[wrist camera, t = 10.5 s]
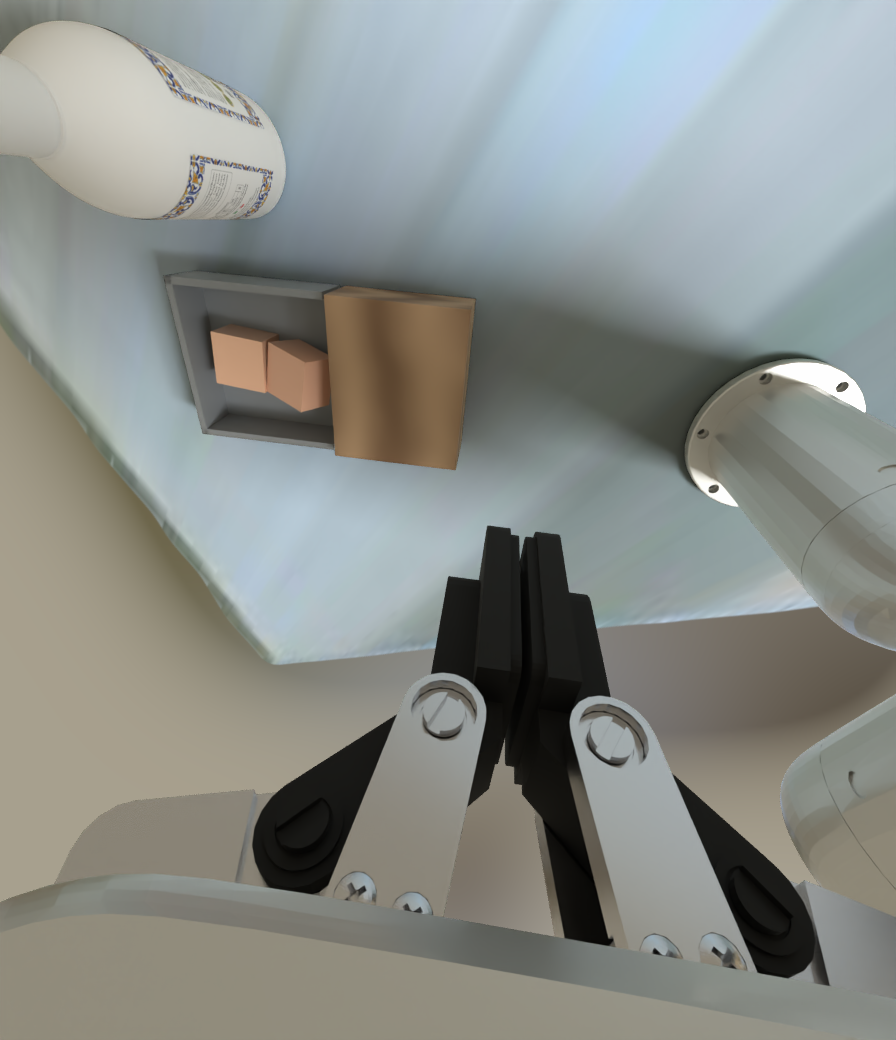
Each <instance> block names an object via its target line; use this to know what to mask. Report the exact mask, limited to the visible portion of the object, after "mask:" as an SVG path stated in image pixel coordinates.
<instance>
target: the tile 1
mask: <svg viewBox="0 0 896 1040" xmlns="http://www.w3.org/2000/svg"><path fill="white" fill-rule="evenodd" d="M267 392H269V393H271V394H272V395H274V396H276V397H277V398H279V399H280V400H282V401H284V402H285V403H287V404H289V405H290V406H292V407H293V408H295V409H297V410H298V411H300V412H304V411H308V410H312V409H315V408H319V407H323V406H327V405H329V401H330V393H331V388H330V374H329V360H328V354H326V353H324V352H322V351H320V350H318V349H317V348H315V347H313V346H311V345H309V344H307V343H306V342H304V341H302V340H300V339H294V340H283V341H273V342H268V366H267Z"/></svg>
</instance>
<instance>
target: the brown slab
mask: <svg viewBox="0 0 896 1040" xmlns="http://www.w3.org/2000/svg"><path fill="white" fill-rule="evenodd" d="M475 301H476V299H472V298H463V297H453V296H443V295H433V294H423V293H413V292H403V291H394V290H384V289H374V288H364V287H354V286H344V287H342V288H339V289H337V290H334V291H332V292H329V293H327V294H324V305H325V319H326V333H327V346H328V360H329V374H330V388H331V402H332V415H333V429H334V443H335V455H336V456H344V457H352V458H360V459H368V460H376V461H385V462H393V463H401V464H409V465H417V466H425V467H434V468H442V469H450V470H456V466H457V461H458V457H459V452H460V448H461V441H462V431H463V421H464V411H465V401H466V391H467V381H468V371H469V361H470V351H471V341H472V331H473V321H474V311H475Z"/></svg>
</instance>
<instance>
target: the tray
mask: <svg viewBox="0 0 896 1040" xmlns="http://www.w3.org/2000/svg"><path fill="white" fill-rule="evenodd" d="M163 277H164V281H165V285H166V289H167V293H168V297H169V301H170V305H171V309H172V313H173V317H174V321H175V325H176V329H177V333H178V337H179V341H180V345H181V349H182V353H183V357H184V361H185V365H186V369H187V373H188V377H189V381H190V385H191V389H192V393H193V397H194V401H195V405H196V409H197V413H198V417H199V421H200V425H201V429H202V433H203V434H209V435H217V436H226V437H234V438H242V439H250V440H258V441H267V442H275V443H283V444H291V445H300V446H308V447H316V448H324V449H332V450H334V448H335V443H334V429H333V415H332V402H331V393H330V401H329V405H327V406H323V407H319V408H315V409H312V410H308V411H304V412H300V411H298V410H297V409H295V408H293V407H292V406H290V405H289V404H287V403H285V402H284V401H282V400H280V399H279V398H277V397H276V396H274V395H272V394H271V393H269V392H266V393H262V392H257V391H253V390H248V389H243V388H238V387H234V386H229V385H224V384H219V383H217V380H216V372H215V364H214V356H213V348H212V340H211V332H210V331H213V330H216V329H218V328H221V327H224V326H227V325H229V324H234V325H238V326H243V327H248V328H253V329H257V330H262V331H267V332H272V333H276V334H279V341H283V340H294V339H300V340H302V341H304V342H306V343H307V344H309V345H311V346H313V347H315V348H317V349H318V350H320V351H322V352H324V353H326V354H328V346H327V333H326V319H325V305H324V294H327V293H329V292H332V291H334V290H337V289H339V288H340V285H334V284H325V283H315V282H305V281H295V280H285V279H275V278H266V277H256V276H246V275H236V274H226V273H216V272H206V271H197V270H196V271H189V272H183V273H177V274H171V275H164V276H163Z"/></svg>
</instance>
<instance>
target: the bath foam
mask: <svg viewBox="0 0 896 1040" xmlns="http://www.w3.org/2000/svg"><path fill="white" fill-rule="evenodd" d="M0 154H5V155H13V156H21V157H29V158H30V159H31V160H32V161H33V162H34V163H35V164H36V165H37V166H38V167H39V168H40V169H41V170H42V171H44V172H45V173H46V174H47V175H48V176H49V177H50V178H51V179H53V180H54V181H55V182H56V183H58V184H59V185H60V186H61V187H63V188H64V189H65V190H67V191H68V192H70V193H71V194H73V195H74V196H76V197H77V198H79V199H81V200H83V201H85V202H86V203H88V204H90V205H92V206H94V207H97V208H99V209H101V210H104V211H107V212H109V213H113V214H116V215H120V216H124V217H129V218H135V219H209V220H237V219H254V218H259V217H262V216H264V215H266V214H267V213H268V212H270V211H271V210H272V209H273V208H274V207H275V206H276V204H277V203H278V201H279V199H280V197H281V195H282V192H283V189H284V185H285V178H286V163H285V156H284V151H283V147H282V144H281V141H280V138H279V136H278V133H277V131H276V129H275V127H274V125H273V124H272V122H271V120H270V119H269V117H268V116H267V115H266V113H265V112H264V111H263V110H262V109H261V108H260V107H259V106H258V105H257V104H256V103H255V102H254V101H253V100H252V99H250V98H249V97H247V96H246V95H244V94H242V93H241V92H239V91H237V90H235V89H232V88H230V87H229V86H227V85H225V84H223V83H221V82H218V81H216V80H214V79H212V78H210V77H208V76H206V75H204V74H202V73H199V72H197V71H195V70H193V69H191V68H189V67H187V66H185V65H183V64H180V63H178V62H176V61H174V60H172V59H170V58H168V57H166V56H164V55H161V54H159V53H157V52H155V51H153V50H151V49H149V48H147V47H145V46H142V45H140V44H138V43H136V42H134V41H132V40H130V39H128V38H126V37H123V36H121V35H119V34H117V33H115V32H113V31H111V30H108V29H105V28H102V27H98V26H94V25H91V24H86V23H81V22H74V21H50V22H45V23H40V24H37V25H34V26H32V27H30V28H28V29H26V30H24V31H23V32H21V33H20V34H19V35H18V36H16V37H15V38H14V39H13V40H12V41H11V42H10V43H9V44H8V45H7V47H6V48H5V49H4V50H3V52H2V53H1V54H0Z"/></svg>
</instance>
